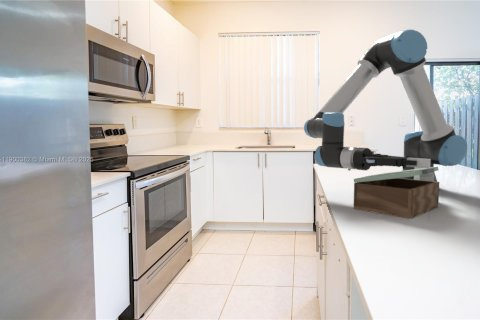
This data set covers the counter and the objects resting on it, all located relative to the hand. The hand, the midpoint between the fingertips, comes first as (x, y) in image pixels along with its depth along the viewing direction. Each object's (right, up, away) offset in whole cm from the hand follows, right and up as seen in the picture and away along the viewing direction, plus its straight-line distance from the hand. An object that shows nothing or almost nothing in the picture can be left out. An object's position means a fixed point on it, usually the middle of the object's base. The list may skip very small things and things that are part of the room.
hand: (429, 163), depth 118 cm
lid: (-6, -4, +7) cm, 10 cm away
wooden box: (-6, -14, +8) cm, 18 cm away
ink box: (+8, -13, +21) cm, 26 cm away
